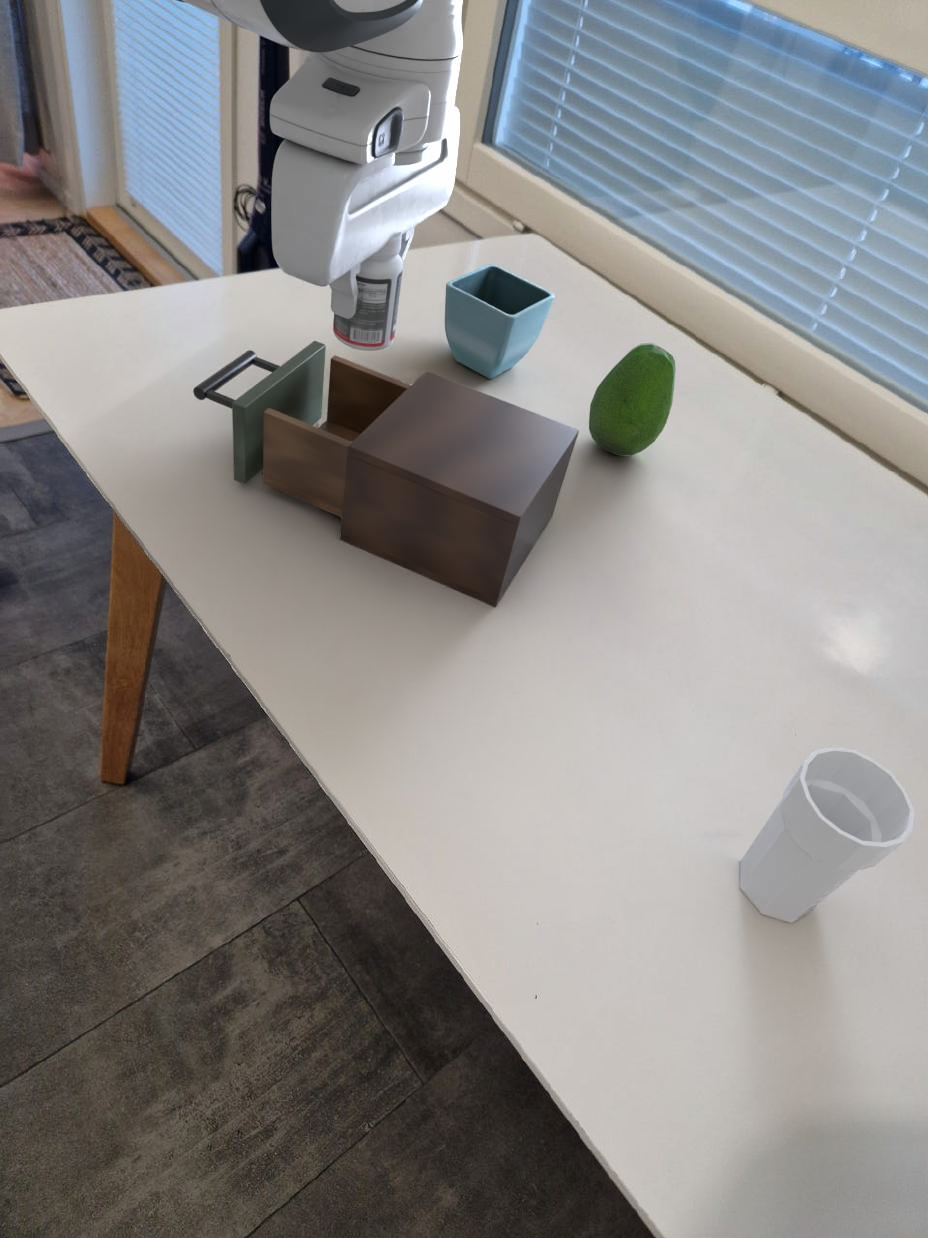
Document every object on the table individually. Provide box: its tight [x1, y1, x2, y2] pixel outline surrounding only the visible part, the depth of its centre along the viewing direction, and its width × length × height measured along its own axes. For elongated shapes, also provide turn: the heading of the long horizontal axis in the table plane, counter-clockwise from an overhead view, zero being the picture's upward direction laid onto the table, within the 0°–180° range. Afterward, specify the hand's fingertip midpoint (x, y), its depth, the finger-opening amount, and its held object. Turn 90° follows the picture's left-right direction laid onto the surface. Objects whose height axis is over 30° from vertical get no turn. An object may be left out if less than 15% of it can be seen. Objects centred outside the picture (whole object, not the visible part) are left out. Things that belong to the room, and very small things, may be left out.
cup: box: [739, 746, 916, 924], centre depth 53 cm, size 7×7×11 cm
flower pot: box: [444, 263, 556, 380], centre depth 95 cm, size 9×9×9 cm
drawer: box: [192, 340, 412, 518], centre depth 76 cm, size 19×13×8 cm
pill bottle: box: [332, 232, 404, 352], centre depth 64 cm, size 5×5×8 cm
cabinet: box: [339, 370, 580, 608], centre depth 74 cm, size 15×14×10 cm
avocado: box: [588, 342, 676, 457], centre depth 86 cm, size 8×8×12 cm
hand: (366, 298), depth 64 cm, fingers closed on pill bottle, 5 cm apart
